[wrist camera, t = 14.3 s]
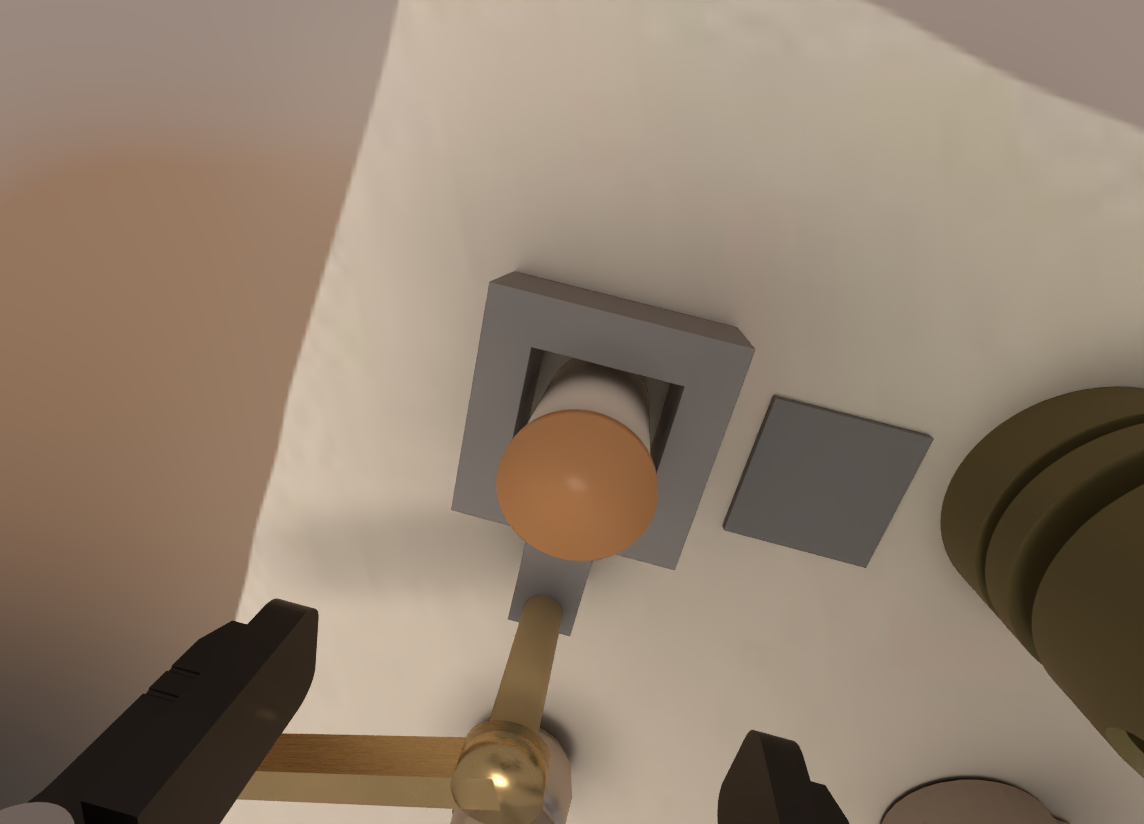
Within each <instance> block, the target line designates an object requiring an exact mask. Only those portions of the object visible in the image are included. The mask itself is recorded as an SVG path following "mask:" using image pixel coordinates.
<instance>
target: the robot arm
mask: <svg viewBox="0 0 1144 824" xmlns="http://www.w3.org/2000/svg"><path fill="white" fill-rule="evenodd" d="M317 633H318V611H317V610H316V609H314V608H310V607H306V606H303V605H299V604H295V603H292V602H288V601H284V600H281V599H273V600H271V601H270V602H268V603H267V604H266V605H265V606H264V607H263V608H262V609H261V610H260V611H259V613H258V614H257V615H256V616H255V617H254V618H253V619H252V620H251V621H250V622H249V623H248V624H243V623H239V622H236V621H231V622H229V623H227V624H225V625H224V626H222V627H220V628H218V629H217V630H215V631H213V632H211V633H209V634H208V635H206V636H204V637H202V638H201V639H199V640H198V641H197V642H196V643H195V644H194V645H193V646H191V647H190V649H188V650H187V651H186V652H185V653H184V654H183V655H182V656H181V657H180V658H179V659H178V660H177V661H176V662H175V663H174V664H173V665H172V668H171V669H170V670H169V671H166V672H165V673H164V674H163V675H162V676H161V677H160V678H159V679H158V680H157V681H156V682H155V683H154V684H153V685H151V687H150V688H149V690H148V692H147V693H146V694H142V695H141V696H140V697H139V698H138V699H137V700H136V701H135V702H134V703H133V704H132V705H131V706H130V707H129V708H128V709H127V710H126V711H125V712H124V713H123V714H122V715H121V716H120V717H119V718H118V719H116V720H115V721H114V723H112V724H111V725H110V726H109V728H107V729H106V730H105V731H104V732H103V733H102V734H101V735H100V736H99V737H98V738H97V739H96V740H95V741H94V742H93V743H92V744H91V745H90V746H89V747H88V748H87V749H86V750H85V751H84V752H83V753H82V754H81V755H80V756H78V757H77V759H76V760H75V761H73V762H72V763H71V764H70V765H69V766H68V767H67V768H66V769H65V770H64V771H63V772H62V773H61V774H60V775H59V776H58V777H57V778H56V779H55V780H54V781H53V782H52V783H51V784H50V785H48V786H47V787H46V788H45V789H44V790H43V791H42V792H41V793H39V794H38V795H37V796H35V797H34V798H33V799H31V800H30V801H29V802H27V803H24V804H20V805H16V806H11V807H8V808H6V809H3V810H0V824H220V823H221V821H222V820H223V818H224V817H225V815H226V814H227V813H228V811H229V810H230V808H231V807H232V805H233V804H234V802H235V801H236V799H237V798H238V796H239V795H240V794H241V792H242V791H243V789H244V788H245V786H246V785H247V783H248V782H249V780H250V779H251V777H252V776H253V775H254V773H255V772H256V770H257V769H258V767H259V766H260V764H261V763H262V761H263V760H264V758H265V757H266V756H267V754H268V753H269V751H270V750H271V748H272V747H273V745H274V744H275V742H276V741H277V739H278V738H279V737H280V735H281V734H282V732H283V731H284V729H285V728H286V726H287V725H288V723H289V722H290V720H291V719H292V718H293V716H294V715H295V713H296V712H297V710H298V709H299V707H300V706H301V704H302V702H303V701H304V699H305V697H306V695H307V693H308V690H309V688H310V686H311V683H312V680H313V677H314V672H315V664H316V648H317ZM718 824H849V822H848V820H847V818H846V817H845V815H844V814H843V812H842V810H841V809H840V807H839V806H838V804H837V803H836V801H835V800H834V798H833V797H832V795H831V793H830V792H829V790H828V789H827V787H826V786H825V785H823V784H819V783H815V782H812V781H810V778H809V774H808V771H807V767H806V764H805V761H804V757H803V754H802V751H801V749H800V747H799V745H798V744H797V743H796V742H795V741H792V740H788V739H784V738H781V737H777V736H773V735H770V734H766V733H762V732H759V731H755V730H751V731H749V732H748V734H747V735H746V737H745V739H744V741H743V743H742V745H741V747H740V749H739V751H738V753H737V755H736V757H735V759H734V761H733V763H732V765H731V767H730V769H729V771H728V773H727V775H726V777H725V779H724V781H723V783H722V786H721V789H720V794H719V800H718ZM882 824H1069V823H1066V822H1063V821H1059V820H1057V819H1055V818H1053V817H1052V816H1051V814H1050V813H1049V812H1048V811H1047V809H1046V808H1045V807H1044V806H1043V804H1042V803H1040V802H1039V801H1038V800H1037V799H1035V798H1034V797H1033V796H1031V795H1030V794H1028V793H1026V792H1024V791H1022V790H1020V789H1018V788H1016V787H1012V786H1009V785H1006V784H1002V783H999V782H992V781H985V780H955V781H948V782H941V783H937V784H934V785H931V786H927V787H924V788H921V789H919V790H917V791H915V792H913V793H911V794H909V795H907V796H906V797H904V798H903V799H901V800H900V801H899V802H897V803H896V804H895V805H894V806H893V807H892V808H891V809H890V811H889V812H888V813H887V814H886V816H885V818H884V820H883V822H882Z"/></svg>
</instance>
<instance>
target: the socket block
mask: <svg viewBox="0 0 1144 824" xmlns="http://www.w3.org/2000/svg"><path fill="white" fill-rule="evenodd" d="M543 350H545V351H549V352H553V353H556V354H560V355H564V356H568V357H572V358H576V359H580V360H584V361H588V362H591V363H595V364H599V365H603V366H607V367H611V368H615V369H619V370H623V371H626V372H630V373H634V374H638V375H642V376H646V377H650V378H654V379H658V380H661V381H665V382H669V383H671V386H670V389H669V392H668V395H667V398H666V402H665V405H664V408H663V411H662V414H661V418H660V421H659V424H658V427H657V430H656V433H655V437H654V440H653V443H652V446H651V449H650V455H651V457H652V460H653V462H654V465H655V469H656V474H657V487H658V498H657V506H656V510H655V514H654V516H653V518H652V521H651V523H650V524H649V526H648V528H647V529H646V531H645V532H644V533H643V535H642V536H641V537H640V538H639V539H638V540H637V541H636V542H635V543H634V544H632V545H631V546H629V547H628V548H627V549H625V550H623V551H621V552H619V553H617V554H616V555H620V556H624V557H627V558H631V559H635V560H638V561H642V562H646V563H649V564H653V565H657V566H661V567H664V568H668V569H672V570H675V568H676V565H677V563H678V560H679V557H680V554H681V552H682V549H683V546H684V543H685V541H686V538H687V535H688V533H689V530H690V527H691V524H692V522H693V519H694V516H695V513H696V511H697V508H698V505H699V502H700V500H701V497H702V494H703V491H704V489H705V486H706V483H707V481H708V478H709V475H710V472H711V470H712V467H713V464H714V461H715V459H716V456H717V453H718V450H719V448H720V445H721V442H722V439H723V437H724V434H725V431H726V429H727V426H728V423H729V420H730V418H731V415H732V412H733V409H734V407H735V404H736V401H737V398H738V396H739V393H740V390H741V387H742V385H743V382H744V379H745V376H746V374H747V371H748V368H749V366H750V363H751V360H752V357H753V355H754V352H755V348H754V347H753V346H752V345H751V343H750V342H749V341H748V340H747V339H746V337H745V336H744V335H743V334H742V333H741V331H740V330H739V329H738V328H737V327H733V326H729V325H725V324H721V323H717V322H713V321H709V320H705V319H701V318H697V317H693V316H689V315H685V314H681V313H677V312H673V311H669V310H665V309H661V308H657V307H653V306H649V305H645V304H641V303H637V302H633V301H629V300H625V299H622V298H618V297H614V296H610V295H606V294H602V293H598V292H594V291H590V290H586V289H582V288H578V287H574V286H570V285H566V284H562V283H558V282H554V281H550V280H546V279H542V278H538V277H534V276H530V275H526V274H522V273H518V272H511V273H509V274H507V275H504V276H502V277H500V278H498V279H495V280H493V281H491V282H489V288H488V294H487V300H486V306H485V312H484V318H483V324H482V329H481V335H480V341H479V347H478V353H477V359H476V365H475V371H474V377H473V383H472V389H471V395H470V401H469V407H468V413H467V419H466V425H465V430H464V436H463V442H462V448H461V454H460V460H459V466H458V472H457V478H456V484H455V490H454V496H453V502H452V508H451V510H453V511H457V512H461V513H464V514H468V515H472V516H475V517H479V518H483V519H487V520H490V521H494V522H498V523H501V524H505V525H509V523H508V521H507V520H506V518H505V517H504V514H503V512H502V510H501V508H500V505H499V501H498V497H497V491H496V477H497V470H498V467H499V463H500V460H501V458H502V456H503V454H504V452H505V450H506V449H507V447H508V445H509V444H510V442H511V441H512V439H513V438H514V436H515V435H516V434H517V433H518V432H519V431H520V430H521V429H522V428H523V427H524V426H525V425H527V424H528V420H529V415H530V411H531V406H532V401H533V397H534V392H535V388H536V383H537V378H538V374H539V369H540V364H541V360H542V355H543ZM509 526H510V525H509ZM591 563H592V560H591V561H573V560H566V559H561V558H557V557H554V556H551V555H548V554H546V553H544V552H542V551H539V550H538V549H536V548H534V547H533V546H531V545H530V544H528V543H527V542H526V544H525V548H524V553H523V557H522V561H521V565H520V570H519V574H518V578H517V582H516V587H515V591H514V595H513V599H512V604H511V608H510V612H509V617H508V619H509V620H512V621H516V622H519V625H518V628H517V632H516V635H515V638H514V642H513V645H512V648H511V651H510V655H509V658H508V661H507V664H506V668H505V671H504V674H503V678H502V681H501V684H500V687H499V691H498V694H497V697H496V701H495V704H494V707H493V710H492V714H491V717H490V720H489V721H495V720H502V721H510V722H514V723H518V724H521V725H523V726H525V727H527V728H529V729H531V730H532V731H534V732H535V733H537V734H538V733H539V728H540V723H541V718H542V713H543V708H544V703H545V699H546V694H547V689H548V684H549V679H550V674H551V669H552V664H553V659H554V654H555V649H556V644H557V639H558V635H559V634H563V635H567V636H570V635H571V631H572V628H573V624H574V621H575V618H576V614H577V611H578V607H579V604H580V601H581V597H582V594H583V590H584V587H585V584H586V580H587V577H588V573H589V570H590V567H591Z"/></svg>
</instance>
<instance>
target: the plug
mask: <svg viewBox="0 0 1144 824" xmlns="http://www.w3.org/2000/svg"><path fill="white" fill-rule="evenodd" d="M496 491H497V497H498V501H499V505H500V508H501V510H502V512H503V514H504V517H505V518H506V520H507V521H508V523H509V525H510V526H511V527H512V528H513V530H514V531H515V532H516V533H517V534H518V535H519V536H520V537H521V538H522V539H523V540H524V541H526V542H527V543H528V544H530V545H531V546H533V547H534V548H536V549H538V550H539V551H542V552H544V553H546V554H548V555H551V556H554V557H557V558H561V559H566V560H573V561H591V560H599V559H603V558H607V557H610V556H612V555H615V554H617V553H619V552H621V551H623V550H625V549H627V548H628V547H629V546H631V545H632V544H634V543H635V542H636V541H637V540H638V539H639V538H640V537H641V536H642V535H643V533H644V532H645V531H646V529H647V528H648V526H649V524H650V523H651V521H652V518H653V516H654V514H655V510H656V506H657V498H658V487H657V474H656V469H655V465H654V462H653V460H652V457H651V455H650V422H649V397H648V392H647V389H646V386H645V384H644V382H643V380H642V378H641V377H640V375H638V374H634V373H630V372H626V371H623V370H619V369H615V368H611V367H607V366H603V365H599V364H595V363H591V362H588V361H584V360H580V359H576V358H575V359H573V360H571V361H569V362H568V363H566V364H565V365H564V366H563V367H562V368H560V369H559V371H558V372H557V373H556V374H555V376H554V377H553V379H552V381H551V382H550V384H549V386H548V388H547V390H546V391H545V393H544V395H543V397H542V399H541V400H540V402H539V404H538V406H537V408H536V409H535V411H534V413H533V415H532V416H531V418H530V420H529V422H528V424H527V425H525V426H524V427H523V428H522V429H521V430H520V431H519V432H518V433H517V434H516V435H515V436H514V438H513V439H512V441H511V442H510V444H509V445H508V447H507V449H506V450H505V452H504V454H503V456H502V458H501V460H500V463H499V467H498V470H497V477H496Z"/></svg>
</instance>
